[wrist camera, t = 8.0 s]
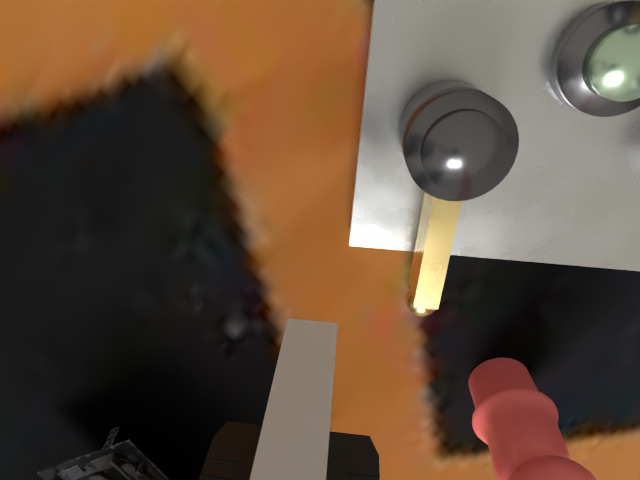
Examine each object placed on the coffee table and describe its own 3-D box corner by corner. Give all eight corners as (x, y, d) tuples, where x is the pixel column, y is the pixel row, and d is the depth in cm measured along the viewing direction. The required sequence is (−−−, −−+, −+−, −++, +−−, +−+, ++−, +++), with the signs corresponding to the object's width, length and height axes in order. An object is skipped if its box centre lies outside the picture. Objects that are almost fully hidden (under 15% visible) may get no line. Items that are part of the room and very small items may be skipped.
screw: (405, 77, 20) (416, 90, 17) (506, 84, 20) (538, 99, 17) (375, 292, 25) (378, 336, 22) (455, 300, 25) (471, 345, 22)
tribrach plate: (349, 230, 26) (348, 266, 22) (398, -252, 17) (411, -326, 13) (706, 260, 25) (767, 303, 22) (952, -221, 16) (1128, -290, 13)
